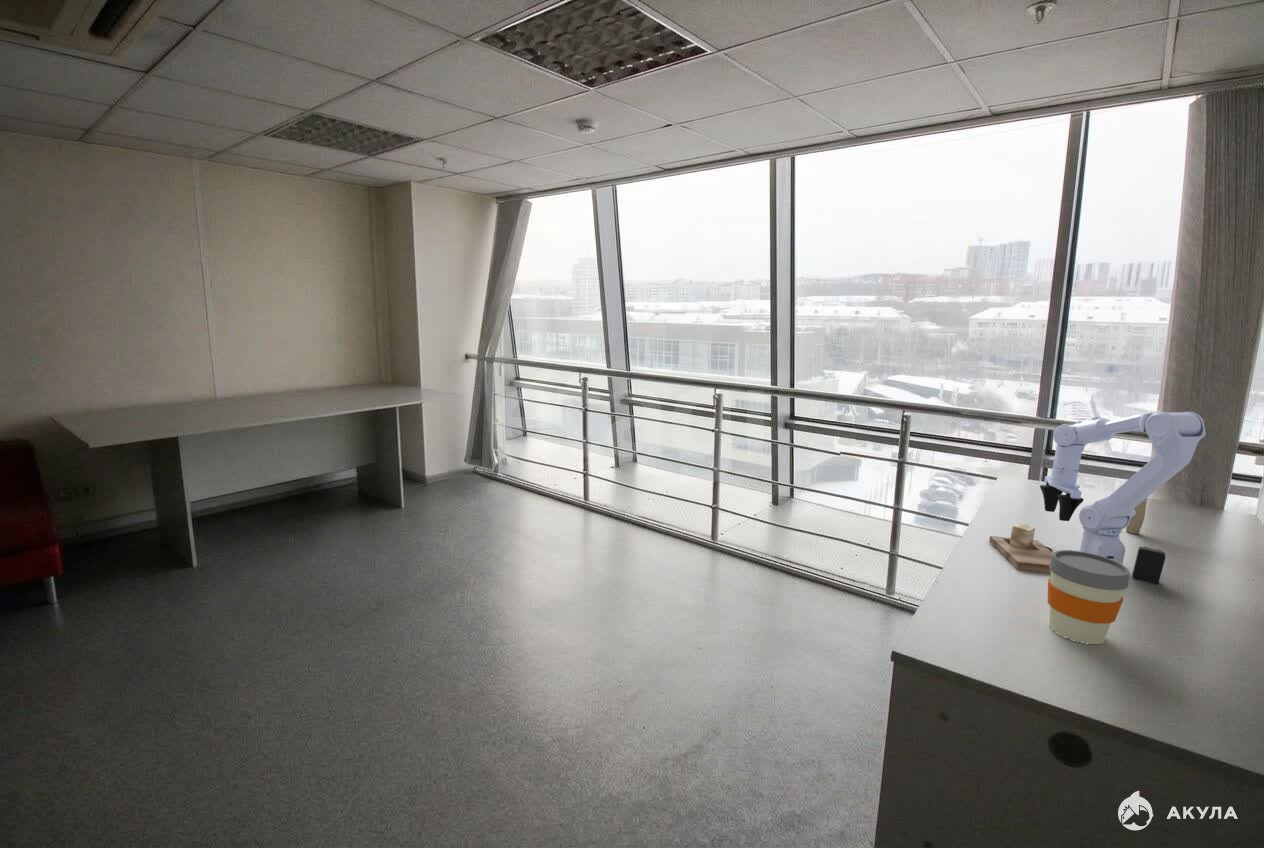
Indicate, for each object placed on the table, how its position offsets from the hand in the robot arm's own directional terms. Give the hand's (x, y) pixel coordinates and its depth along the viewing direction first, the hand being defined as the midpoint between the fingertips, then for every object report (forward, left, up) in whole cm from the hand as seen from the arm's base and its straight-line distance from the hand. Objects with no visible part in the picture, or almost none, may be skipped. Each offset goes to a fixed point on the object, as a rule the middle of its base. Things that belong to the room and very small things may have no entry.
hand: (1056, 515), depth 167 cm
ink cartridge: (-20, -12, -9) cm, 25 cm away
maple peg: (-8, +11, -8) cm, 16 cm away
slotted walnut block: (-13, +11, -8) cm, 19 cm away
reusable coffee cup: (-53, +19, -9) cm, 57 cm away
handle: (+18, -30, -9) cm, 36 cm away
